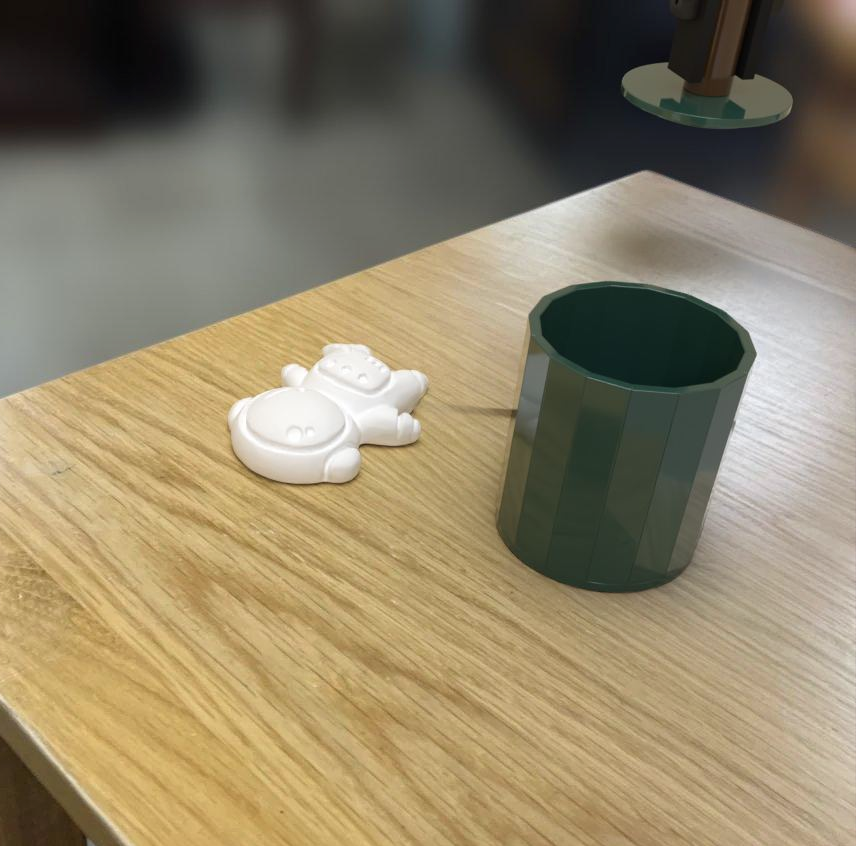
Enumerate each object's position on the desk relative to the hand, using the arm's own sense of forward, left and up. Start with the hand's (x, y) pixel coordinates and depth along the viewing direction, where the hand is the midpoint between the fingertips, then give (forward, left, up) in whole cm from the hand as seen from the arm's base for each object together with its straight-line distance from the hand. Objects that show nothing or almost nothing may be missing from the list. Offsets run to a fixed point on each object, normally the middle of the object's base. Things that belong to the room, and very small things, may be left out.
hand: (710, 72), depth 73 cm
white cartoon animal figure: (+20, +22, -13) cm, 32 cm away
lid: (0, 0, -1) cm, 1 cm away
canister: (+7, +29, -13) cm, 32 cm away
